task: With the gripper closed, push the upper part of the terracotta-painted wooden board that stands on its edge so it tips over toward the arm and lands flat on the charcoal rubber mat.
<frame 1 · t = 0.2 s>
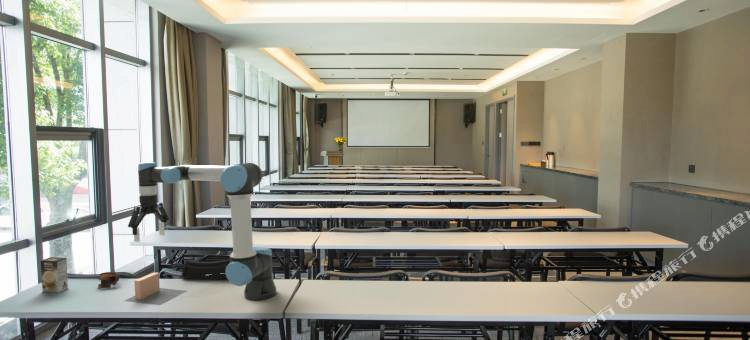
hand: (149, 238, 202), 28 cm above the table, tool pointing down, fingers open, 13 cm apart
board: (147, 294, 203), point 1 cm above the table, touching mat
pottery mug: (109, 286, 217), on the table
mat: (156, 296, 202), on the table
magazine: (210, 279, 228), on the table
coffee box: (55, 290, 211), on the table
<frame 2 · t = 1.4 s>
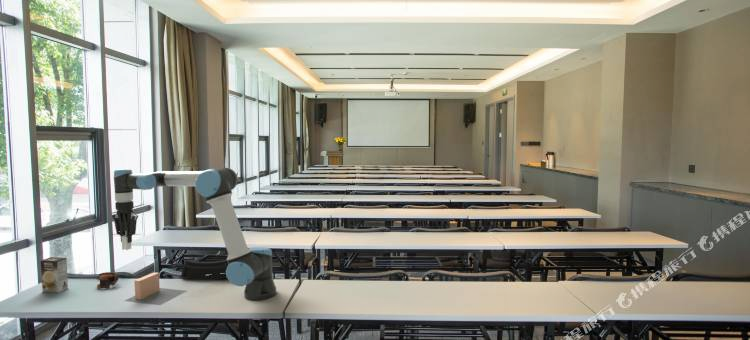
hand: (126, 248, 204), 22 cm above the table, tool pointing down, fingers closed
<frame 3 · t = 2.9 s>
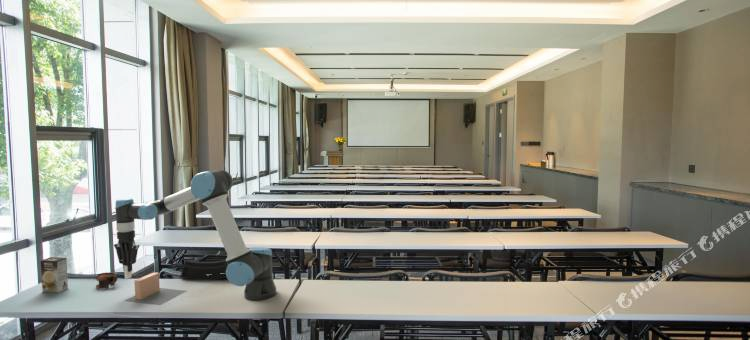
hand: (128, 277, 205), 8 cm above the table, tool pointing down, fingers closed
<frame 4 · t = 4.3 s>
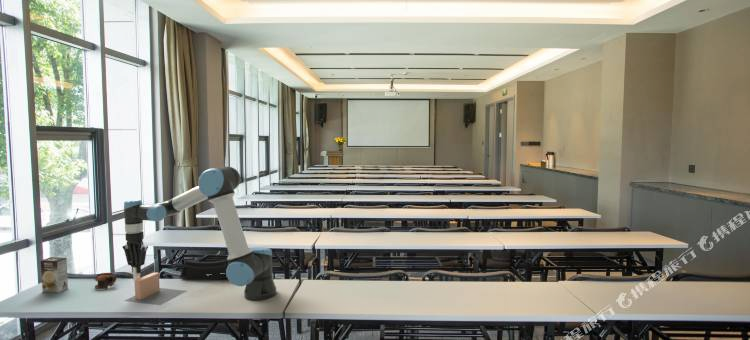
hand: (136, 279, 204), 8 cm above the table, tool pointing down, fingers closed
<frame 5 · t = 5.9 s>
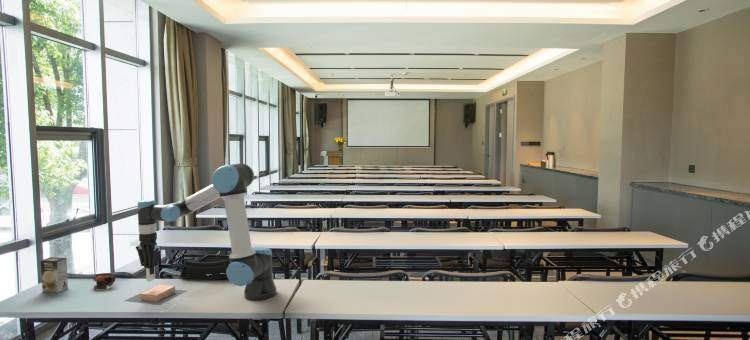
hand: (150, 280, 202), 8 cm above the table, tool pointing down, fingers closed
board: (150, 291, 203), point 2 cm above the table, tilted 90°, touching mat
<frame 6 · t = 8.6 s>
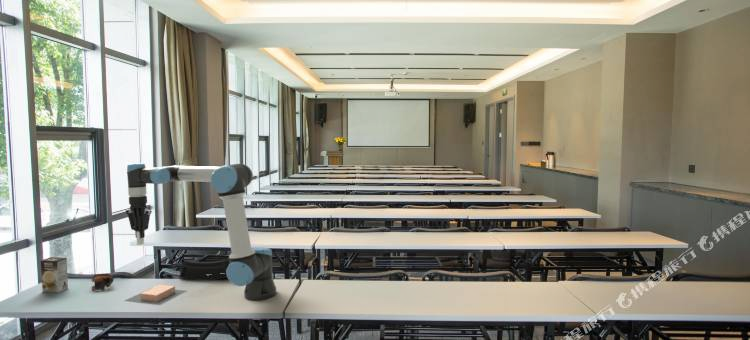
hand: (140, 244, 202), 25 cm above the table, tool pointing down, fingers closed
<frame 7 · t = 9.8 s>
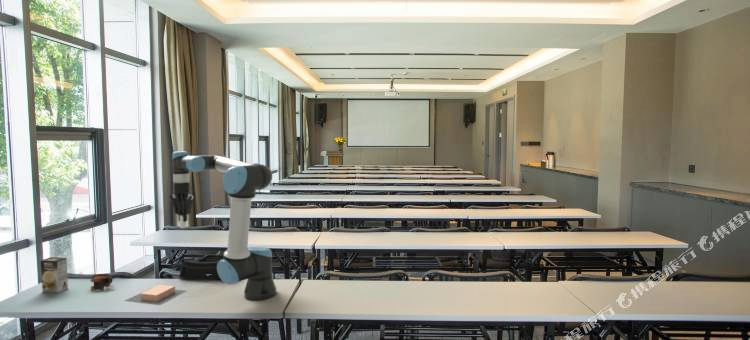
hand: (183, 227, 215), 30 cm above the table, tool pointing down, fingers closed
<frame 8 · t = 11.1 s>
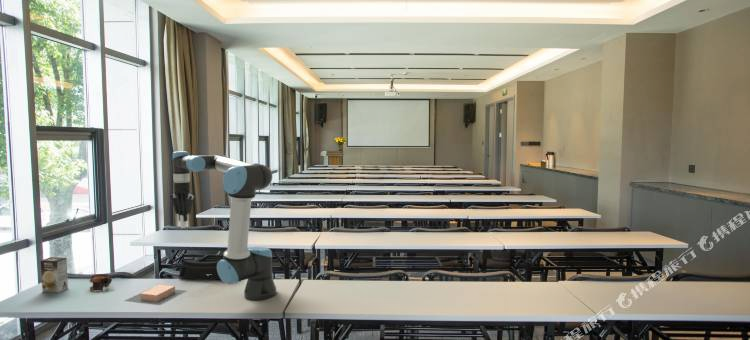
hand: (183, 227, 215), 30 cm above the table, tool pointing down, fingers closed
at the end: board tilted 90°; board inside the target area (2.4 cm from its centre), point 2.1 cm above the table; board touching mat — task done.
